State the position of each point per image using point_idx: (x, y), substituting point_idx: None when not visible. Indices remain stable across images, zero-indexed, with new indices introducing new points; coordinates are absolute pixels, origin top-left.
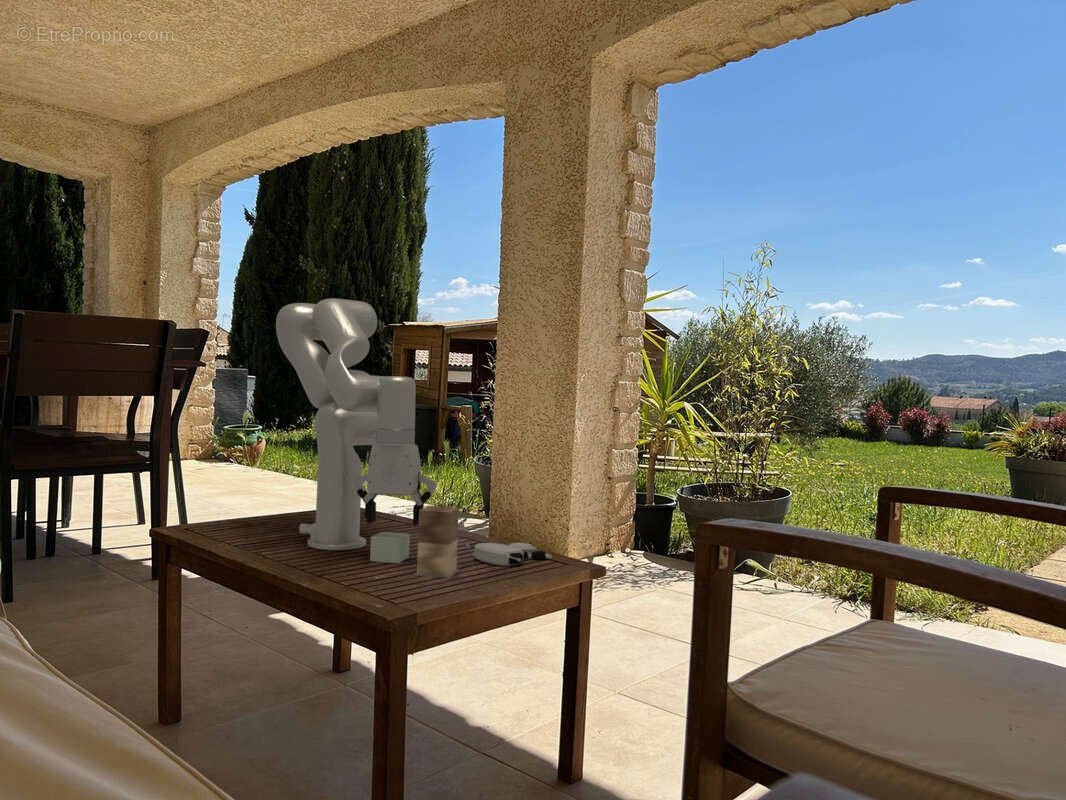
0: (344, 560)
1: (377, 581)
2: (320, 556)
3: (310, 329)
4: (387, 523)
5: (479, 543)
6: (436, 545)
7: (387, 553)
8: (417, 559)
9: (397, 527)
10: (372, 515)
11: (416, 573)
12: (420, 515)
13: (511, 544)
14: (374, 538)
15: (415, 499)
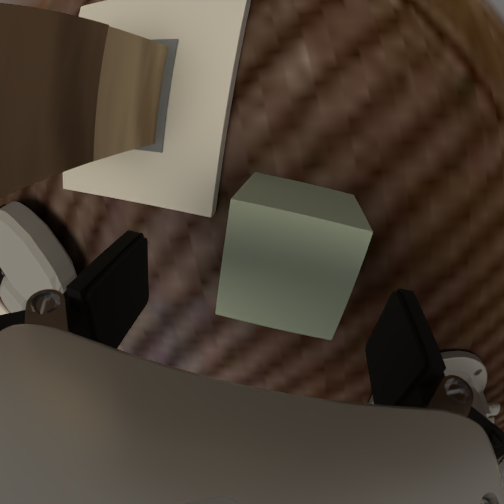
0: (429, 266)
1: (292, 13)
2: (479, 299)
3: None
4: None
5: None
6: None
7: (293, 192)
8: (145, 38)
9: None
10: (389, 337)
11: (170, 51)
12: (12, 7)
13: (20, 302)
14: (356, 226)
15: (52, 323)
